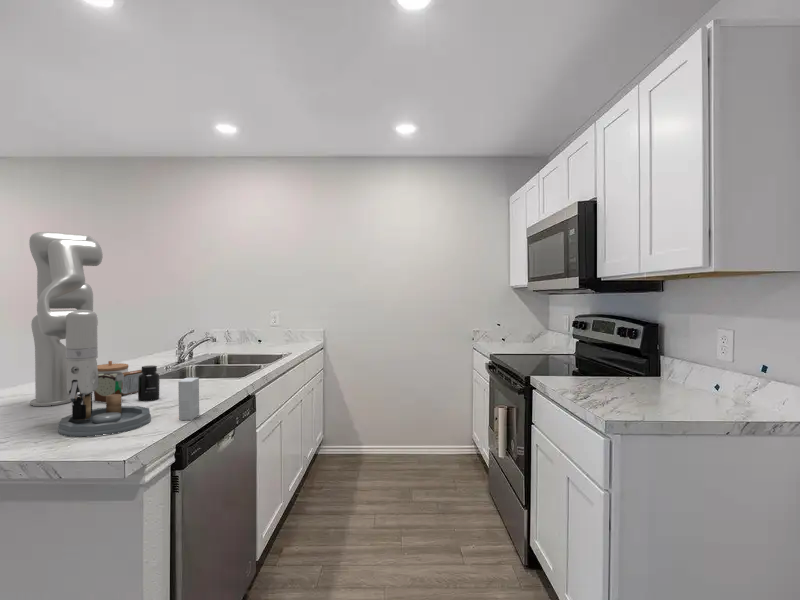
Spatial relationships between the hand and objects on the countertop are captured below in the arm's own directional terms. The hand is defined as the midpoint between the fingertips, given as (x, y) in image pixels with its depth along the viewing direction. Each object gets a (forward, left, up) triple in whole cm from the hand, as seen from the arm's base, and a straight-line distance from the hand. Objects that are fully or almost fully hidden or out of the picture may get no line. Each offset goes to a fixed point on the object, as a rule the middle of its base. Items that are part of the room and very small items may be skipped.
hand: (82, 416), depth 132 cm
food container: (-25, +21, -3) cm, 33 cm away
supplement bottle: (-16, +29, -3) cm, 33 cm away
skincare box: (+18, +21, -3) cm, 28 cm away
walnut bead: (0, +9, -2) cm, 9 cm away
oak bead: (0, 0, -1) cm, 1 cm away
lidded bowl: (-47, +32, -3) cm, 57 cm away
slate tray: (+4, +4, -3) cm, 7 cm away
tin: (-31, +32, -3) cm, 45 cm away
